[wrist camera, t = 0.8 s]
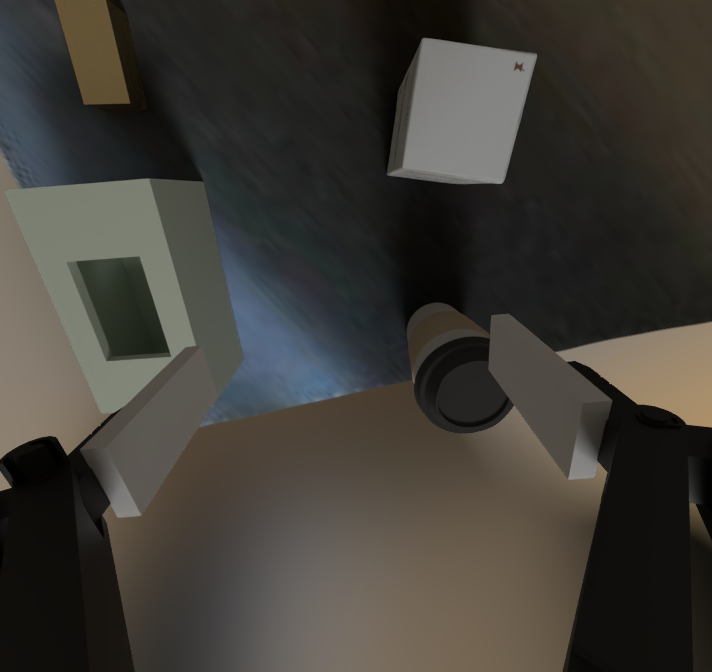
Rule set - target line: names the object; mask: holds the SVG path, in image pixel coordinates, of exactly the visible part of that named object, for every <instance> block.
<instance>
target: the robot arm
mask: <svg viewBox="0 0 712 672" xmlns="http://www.w3.org/2000/svg"><path fill="white" fill-rule="evenodd" d="M488 370H489V371H490V373H491V374H492V375H493V377H494V378H495V379H496V381H497V382H498V384H499V385H500V386H501V388H502V389H503V390H504V392H505V393H506V395H507V396H508V397H509V399H510V400H511V402H512V403H513V404H514V406H515V407H516V408H517V410H518V411H519V412H520V414H521V415H522V417H523V418H524V419H525V421H526V422H527V424H528V425H529V426H530V428H531V429H532V431H533V432H534V433H535V435H536V436H537V437H538V439H539V440H540V442H541V443H542V444H543V446H544V447H545V448H546V450H547V451H548V453H549V454H550V455H551V457H552V458H553V460H554V461H555V462H556V464H557V465H558V466H559V468H560V469H561V471H562V472H563V473H564V475H565V476H566V477H567V479H568V480H571V479H584V478H594V477H595V473H596V468H597V464H598V462H599V463H600V464H601V465H602V467H603V468H604V469H605V470H606V471H607V472H608V473H607V477H606V481H605V485H604V489H603V493H602V497H601V504H600V508H599V512H598V517H597V521H596V526H595V530H594V535H593V539H592V544H591V548H590V552H589V557H588V561H587V566H586V570H585V574H584V579H583V583H582V588H581V592H580V597H579V601H578V606H577V610H576V614H575V619H574V624H573V628H572V632H571V637H570V641H569V645H568V650H567V654H566V659H565V663H564V668H563V672H693V652H692V611H691V609H692V608H691V607H692V606H691V563H690V519H689V518H690V515H689V503H695V504H696V506H697V508H698V511H699V513H700V515H701V517H702V520H703V522H704V524H705V527H706V529H707V531H708V533H709V536H710V538H711V540H712V428H711V427H702V426H692V425H686V424H685V422H684V421H683V420H682V419H681V418H680V417H678V416H677V415H675V414H673V413H671V412H669V411H667V410H664V409H661V408H658V407H655V406H648V405H637V404H636V403H635V402H634V401H632V400H631V399H630V398H628V397H627V396H626V395H625V394H623V393H622V392H621V391H619V390H618V389H617V388H616V387H614V386H613V385H612V384H609V382H608V381H607V380H605V379H604V378H603V377H600V375H599V374H598V373H596V372H595V371H594V370H592V369H591V368H590V367H587V366H585V365H583V364H581V363H578V362H576V361H572V362H566V361H565V360H563V359H562V358H561V357H560V356H559V355H557V354H556V353H555V352H554V351H553V350H552V349H550V348H549V347H548V346H547V345H546V344H544V343H543V342H542V341H541V340H540V339H538V338H537V337H536V336H535V335H534V334H532V333H531V332H530V331H529V330H528V329H526V328H525V327H524V326H523V325H522V324H520V323H519V322H518V321H517V320H516V319H514V318H513V317H512V316H511V315H510V314H501V315H491V330H490V349H489V367H488ZM217 397H218V394H217V391H216V387H215V384H214V381H213V378H212V375H211V372H210V369H209V366H208V363H207V360H206V357H205V354H204V350H203V347H202V345H201V346H192V347H185V348H184V349H183V350H182V351H181V352H180V353H179V354H178V355H177V356H176V357H175V358H174V359H173V360H172V361H171V362H170V363H169V364H168V365H167V366H166V367H165V368H164V369H163V370H161V371H160V372H159V373H158V374H157V375H156V376H155V377H154V378H153V379H152V380H151V381H150V382H149V383H148V384H147V385H146V386H145V387H144V388H143V389H142V390H141V391H140V392H139V393H138V394H137V395H136V396H135V397H134V398H133V399H132V400H131V401H129V402H128V403H127V404H126V405H125V406H124V407H122V408H121V409H119V410H117V411H116V412H114V413H113V414H111V415H110V416H109V417H108V418H107V419H106V420H105V421H104V422H103V423H102V424H101V426H98V427H97V428H96V429H95V430H94V431H93V432H92V434H90V435H89V436H88V437H87V438H86V439H85V440H84V441H83V442H81V444H79V445H78V446H77V447H76V448H75V449H74V450H73V451H72V452H71V453H70V454H69V455H68V456H67V454H66V453H65V451H64V449H63V448H62V446H61V444H60V443H59V441H58V439H57V438H56V437H52V436H48V437H41V438H38V439H35V440H32V441H29V442H27V443H25V444H23V445H20V446H18V447H17V448H15V449H13V450H12V451H10V452H9V453H7V454H6V455H5V456H4V457H3V458H1V459H0V471H1V473H2V474H3V476H4V477H5V478H6V480H7V481H8V482H9V484H10V486H11V487H12V488H10V489H7V490H3V491H0V672H135V671H134V666H133V660H132V654H131V649H130V644H129V638H128V634H127V628H126V624H125V618H124V612H123V607H122V602H121V597H120V591H119V586H118V580H117V575H116V570H115V564H114V559H113V555H112V548H111V543H110V538H109V533H108V528H107V523H106V521H105V519H104V518H103V516H102V514H103V513H104V512H105V510H106V509H107V507H108V506H109V505H111V506H112V508H113V510H114V511H115V513H116V515H117V517H118V518H120V517H132V516H141V515H142V514H143V513H144V511H145V509H146V508H147V506H148V505H149V503H150V502H151V500H152V499H153V497H154V495H155V494H156V492H157V491H158V489H159V487H160V486H161V484H162V483H163V481H164V480H165V478H166V476H167V475H168V474H169V472H170V470H171V469H172V467H173V466H174V464H175V463H176V461H177V459H178V458H179V456H180V455H181V453H182V452H183V450H184V449H185V447H186V445H187V444H188V442H189V441H190V439H191V438H192V436H193V434H194V433H195V431H196V430H197V428H198V427H199V425H200V424H201V422H202V420H203V419H204V417H205V416H206V414H207V413H208V411H209V410H210V408H211V406H212V405H213V403H214V402H215V400H216V399H217Z"/></svg>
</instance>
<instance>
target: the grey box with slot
mask: <svg viewBox="0 0 712 672" xmlns="http://www.w3.org/2000/svg"><path fill="white" fill-rule="evenodd" d="M4 193H5V195H6V197H7V200H8V202H9V204H10V206H11V209H12V211H13V213H14V216H15V218H16V220H17V222H18V225H19V227H20V229H21V232H22V234H23V236H24V238H25V241H26V243H27V245H28V248H29V250H30V252H31V254H32V257H33V259H34V261H35V264H36V266H37V268H38V270H39V273H40V275H41V277H42V279H43V282H44V284H45V286H46V289H47V291H48V293H49V295H50V297H51V300H52V302H53V305H54V307H55V309H56V311H57V314H58V316H59V318H60V320H61V323H62V325H63V327H64V330H65V332H66V334H67V337H68V339H69V341H70V343H71V346H72V348H73V350H74V352H75V355H76V357H77V359H78V362H79V364H80V366H81V369H82V371H83V373H84V375H85V378H86V380H87V382H88V385H89V387H90V389H91V391H92V394H93V396H94V398H95V400H96V403H97V405H98V407H99V410H100V412H101V413H114V412H116V411H117V410H119V409H121V408H122V407H124V406H125V405H126V404H127V403H128V402H129V401H131V400H132V399H133V398H134V397H135V396H136V395H137V394H138V393H139V392H140V391H141V390H142V389H143V388H144V387H145V386H146V385H147V384H148V383H149V382H150V381H151V380H152V379H153V378H154V377H155V376H156V375H157V374H158V373H159V372H160V371H161V370H163V369H164V368H165V367H166V366H167V365H168V364H169V363H170V362H171V361H172V360H173V359H174V358H175V357H176V356H177V355H178V354H179V353H180V352H181V351H182V350H183V349H184V348H185V347H192V346H201V345H202V347H203V350H204V354H205V357H206V360H207V363H208V366H209V369H210V372H211V375H212V378H213V381H214V384H215V387H216V391H217V394H218V397H217V399H218V398H219V396H220V395H221V393H222V392H223V390H224V389H225V387H226V385H227V384H228V382H229V381H230V379H231V378H232V376H233V375H234V373H235V372H236V370H237V369H238V367H239V366H240V364H241V362H242V361H243V359H244V358H243V354H242V350H241V345H240V341H239V336H238V332H237V328H236V323H235V319H234V314H233V310H232V305H231V301H230V297H229V292H228V288H227V283H226V279H225V275H224V270H223V266H222V261H221V257H220V252H219V248H218V244H217V239H216V235H215V230H214V226H213V222H212V217H211V213H210V208H209V204H208V199H207V195H206V191H205V186H204V182H199V181H183V180H166V179H150V178H148V179H136V180H124V181H112V182H100V183H88V184H75V185H63V186H51V187H39V188H27V189H15V190H5V191H4ZM217 399H216V400H215V402H216V401H217ZM215 402H214V403H213V405H214V404H215ZM213 405H212V406H213Z"/></svg>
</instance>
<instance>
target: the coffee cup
mask: <svg viewBox="0 0 712 672" xmlns="http://www.w3.org/2000/svg"><path fill="white" fill-rule="evenodd" d="M407 338H408V344H409V346H408V347H409V356H410V363H411V370H412V377H413V382H414V393H415V398H416V401H417V403H418V405H419V407H420V409H421V410H422V411H423V413H425V415H426V416H427V418H428V419H429V420H430V421H431V422H432V423H433V424H435V425H436V426H438V427H440V428H442V429H444V430H446V431H450V432H455V433H473V432H478V431H482V430H485V429H488V428H490V427H492V426H494V425H496V424H497V423H498V422H500V421H501V420H502V419H503V418H504V417H505V416H506V415H507V414H508V413H509V411H510V410H511V409H512V407H513V406H514V404H513V403H512V402H511V400H510V399H509V397H508V396H507V395H506V393H505V392H504V390H503V389H502V388H501V386H500V385H499V384H498V382H497V381H496V379H495V378H494V377H493V375H492V374H491V373H490V371H489V370H488V367H489V349H490V334H488V333H487V332H486V331H485V330H483V329H482V328H481V327H479V326H478V325H477V324H476V323H474V322H473V321H472V320H470V319H469V318H468V317H467V316H465V315H463V314H461V313H459V312H458V311H457V310H456V309H454V308H453V307H451V306H450V305H447V304H444V303H431V304H427V305H425V306H423V307H421V308H420V309H418V310H417V311H416V312H415V313H414V314H413V315H412V317H411V318H410V320H409V323H408V326H407Z"/></svg>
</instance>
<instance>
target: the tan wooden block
mask: <svg viewBox="0 0 712 672" xmlns="http://www.w3.org/2000/svg"><path fill="white" fill-rule="evenodd" d="M55 3H56V6H57V10H58V13H59V17H60V21H61V24H62V28H63V31H64V35H65V38H66V42H67V46H68V49H69V53H70V56H71V60H72V63H73V67H74V71H75V74H76V78H77V81H78V85H79V88H80V92H81V95H82V99H83V103H84V105H87V106H90V107H93V108H96V109H99V110H103V111H141V110H148V108H147V104H146V99H145V95H144V90H143V86H142V81H141V77H140V72H139V67H138V63H137V58H136V54H135V49H134V45H133V40H132V36H131V31H130V27H129V22H128V17H127V14H126V13H125V12H123V11H122V10H121V9H119V8H118V7H117V6H116V5H114V4H113V3H112V2H110V1H109V0H55Z"/></svg>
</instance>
